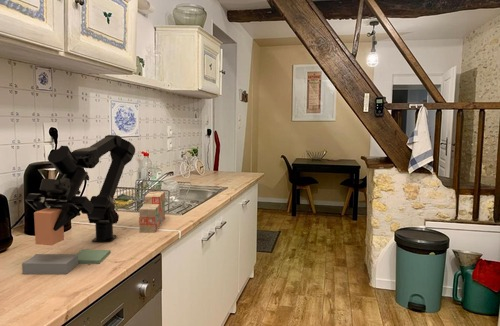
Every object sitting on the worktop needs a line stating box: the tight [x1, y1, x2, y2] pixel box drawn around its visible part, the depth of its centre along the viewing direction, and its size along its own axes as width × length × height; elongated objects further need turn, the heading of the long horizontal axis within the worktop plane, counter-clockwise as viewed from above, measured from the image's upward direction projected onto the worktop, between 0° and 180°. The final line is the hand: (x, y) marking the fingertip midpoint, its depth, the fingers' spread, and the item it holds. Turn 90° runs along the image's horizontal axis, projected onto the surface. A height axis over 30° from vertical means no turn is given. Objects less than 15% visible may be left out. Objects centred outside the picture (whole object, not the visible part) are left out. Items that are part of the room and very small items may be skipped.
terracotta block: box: [33, 207, 65, 246], centre depth 101 cm, size 5×5×9 cm
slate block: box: [21, 253, 79, 275], centre depth 102 cm, size 7×12×3 cm, turn 91°
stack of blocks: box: [138, 190, 166, 233], centre depth 147 cm, size 21×6×12 cm, turn 4°
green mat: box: [76, 249, 112, 265], centre depth 111 cm, size 9×9×1 cm
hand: (45, 229), depth 99 cm, fingers closed on terracotta block, 5 cm apart
